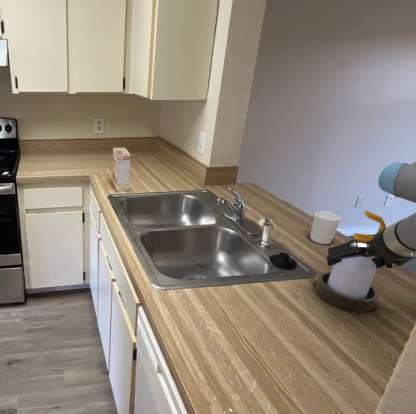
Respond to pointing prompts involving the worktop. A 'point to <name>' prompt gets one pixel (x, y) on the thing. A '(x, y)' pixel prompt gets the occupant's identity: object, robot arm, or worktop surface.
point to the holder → (342, 300)
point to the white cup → (324, 227)
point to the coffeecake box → (121, 169)
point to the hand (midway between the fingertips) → (348, 263)
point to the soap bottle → (355, 269)
